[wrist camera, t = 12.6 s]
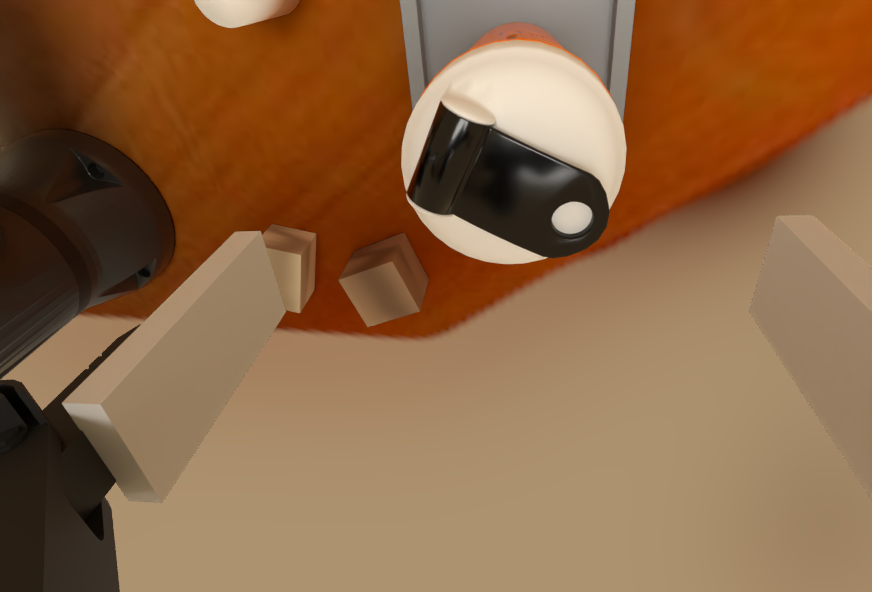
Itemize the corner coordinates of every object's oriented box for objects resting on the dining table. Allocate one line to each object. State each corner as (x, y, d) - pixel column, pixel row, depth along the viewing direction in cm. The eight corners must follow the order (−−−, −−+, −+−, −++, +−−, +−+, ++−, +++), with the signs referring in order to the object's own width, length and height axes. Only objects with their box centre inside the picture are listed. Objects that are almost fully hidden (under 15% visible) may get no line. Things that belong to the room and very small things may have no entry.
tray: (426, 177, 40) (421, 189, 38) (404, -33, 33) (396, -32, 31) (611, 169, 38) (616, 181, 36) (633, -59, 30) (641, -60, 28)
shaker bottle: (555, 159, 37) (583, 322, 21) (436, 128, 37) (369, 267, 21) (603, 24, 32) (691, 99, 16) (466, -12, 32) (409, 25, 16)
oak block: (273, 279, 48) (255, 303, 45) (272, 223, 45) (253, 244, 42) (314, 288, 48) (300, 313, 45) (316, 232, 45) (300, 255, 41)
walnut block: (381, 294, 47) (367, 327, 43) (354, 250, 45) (338, 280, 41) (429, 279, 46) (420, 311, 42) (404, 232, 43) (392, 261, 39)
